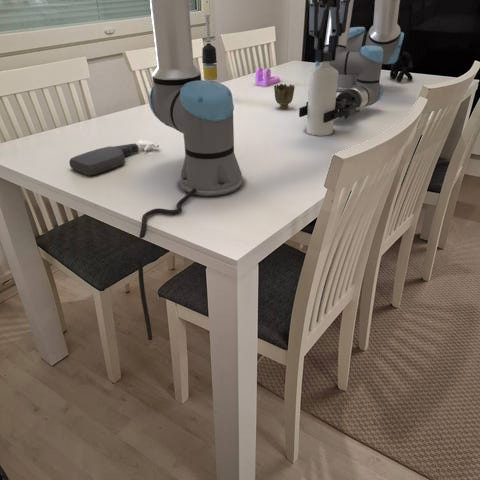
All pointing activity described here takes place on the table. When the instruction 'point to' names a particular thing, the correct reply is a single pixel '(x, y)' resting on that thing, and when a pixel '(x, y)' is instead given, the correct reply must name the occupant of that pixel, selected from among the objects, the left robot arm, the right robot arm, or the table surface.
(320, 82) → the bottle
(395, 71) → the squiggle
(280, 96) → the cup
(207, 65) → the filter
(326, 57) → the cap
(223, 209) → the table surface
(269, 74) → the bracket
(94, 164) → the spray bottle
